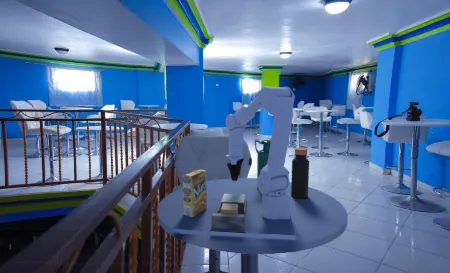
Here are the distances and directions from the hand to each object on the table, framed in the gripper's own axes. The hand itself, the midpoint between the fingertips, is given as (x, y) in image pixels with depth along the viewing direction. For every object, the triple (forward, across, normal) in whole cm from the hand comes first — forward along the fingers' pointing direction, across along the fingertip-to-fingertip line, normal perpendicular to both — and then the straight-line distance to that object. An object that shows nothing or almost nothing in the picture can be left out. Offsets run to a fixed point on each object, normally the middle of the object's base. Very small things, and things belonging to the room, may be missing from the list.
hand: (235, 177), depth 116 cm
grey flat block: (+7, +11, 0) cm, 14 cm away
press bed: (+8, +18, +1) cm, 20 cm away
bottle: (+9, -6, +26) cm, 28 cm away
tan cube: (+7, +24, +1) cm, 26 cm away
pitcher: (+9, -14, +12) cm, 20 cm away
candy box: (+9, +18, -12) cm, 24 cm away
